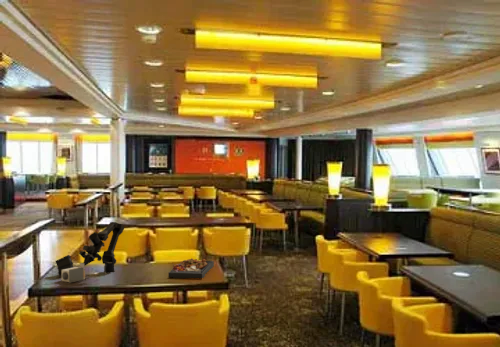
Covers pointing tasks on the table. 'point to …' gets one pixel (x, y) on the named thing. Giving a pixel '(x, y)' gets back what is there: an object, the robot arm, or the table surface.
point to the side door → (76, 274)
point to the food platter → (191, 269)
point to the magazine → (64, 264)
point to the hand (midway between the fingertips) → (83, 265)
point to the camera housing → (66, 274)
